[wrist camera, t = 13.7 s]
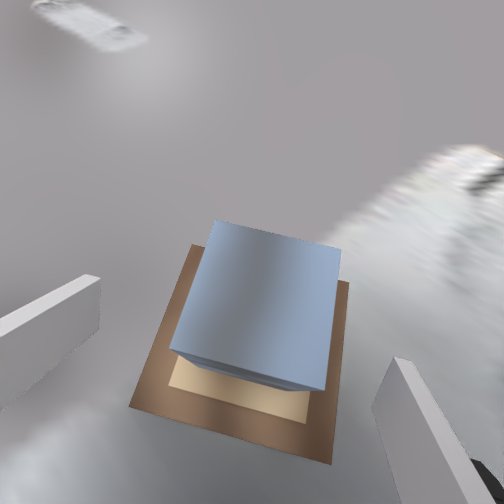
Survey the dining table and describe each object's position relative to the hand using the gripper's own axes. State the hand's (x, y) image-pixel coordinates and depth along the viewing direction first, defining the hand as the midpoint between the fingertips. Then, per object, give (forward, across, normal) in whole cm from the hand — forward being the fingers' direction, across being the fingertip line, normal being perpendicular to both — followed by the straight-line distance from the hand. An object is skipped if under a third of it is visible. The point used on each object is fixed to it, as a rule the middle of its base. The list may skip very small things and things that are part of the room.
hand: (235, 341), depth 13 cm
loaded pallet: (+8, +1, -5) cm, 10 cm away
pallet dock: (+11, 0, -8) cm, 14 cm away
